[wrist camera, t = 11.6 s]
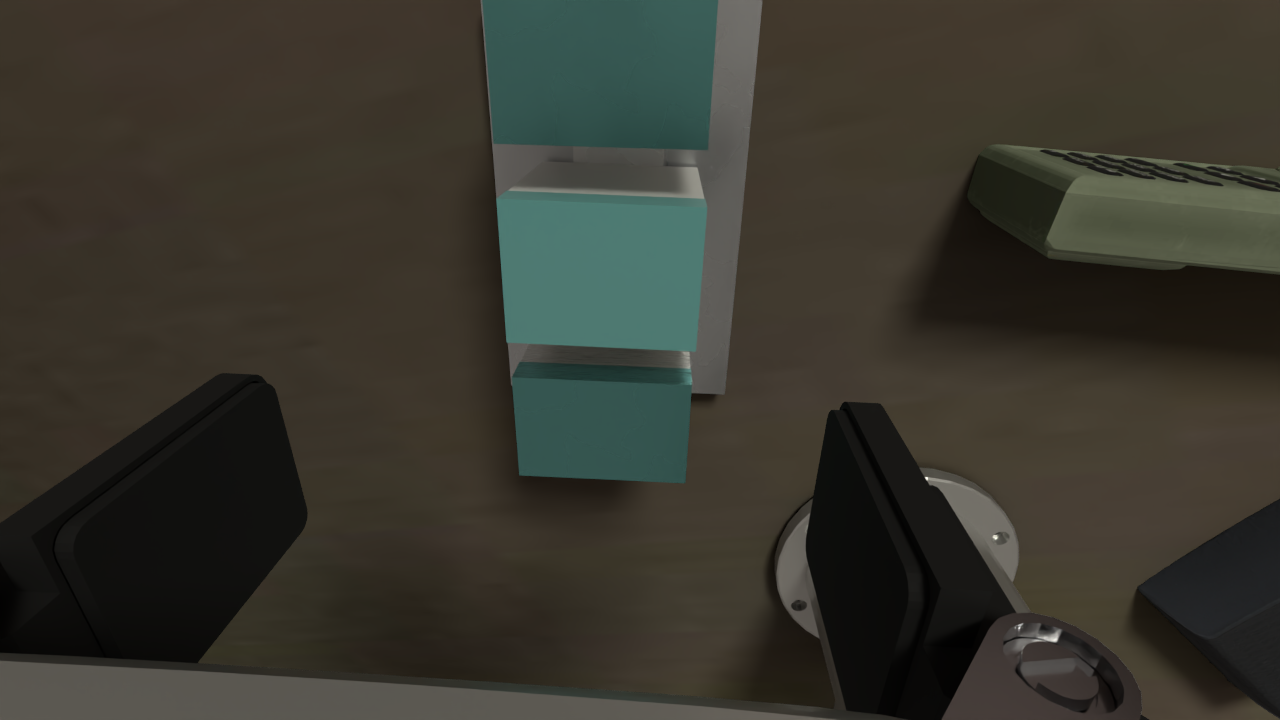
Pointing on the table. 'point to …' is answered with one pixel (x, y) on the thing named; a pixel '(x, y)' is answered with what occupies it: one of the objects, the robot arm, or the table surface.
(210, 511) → the robot arm
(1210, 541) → the external hard drive
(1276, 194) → the handheld radio
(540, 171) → the block
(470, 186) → the table surface
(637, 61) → the rail plate
